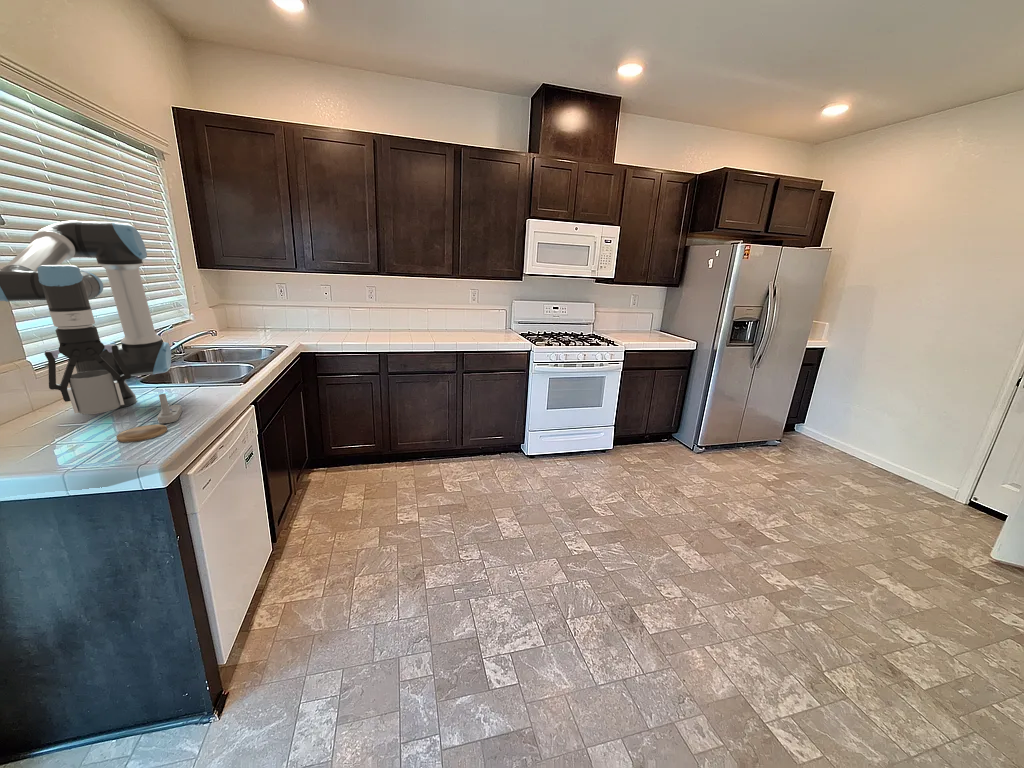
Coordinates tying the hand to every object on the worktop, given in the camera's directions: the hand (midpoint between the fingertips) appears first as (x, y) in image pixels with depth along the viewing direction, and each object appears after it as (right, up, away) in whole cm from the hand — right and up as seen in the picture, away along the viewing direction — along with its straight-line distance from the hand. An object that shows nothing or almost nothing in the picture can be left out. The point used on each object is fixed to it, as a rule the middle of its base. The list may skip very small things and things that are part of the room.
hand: (99, 407), depth 113 cm
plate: (-2, -9, +16) cm, 19 cm away
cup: (0, -1, 0) cm, 1 cm away
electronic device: (-5, -5, +30) cm, 31 cm away
